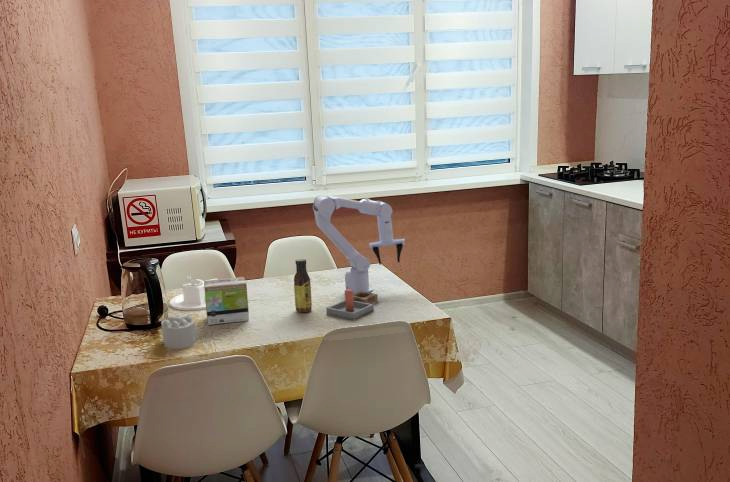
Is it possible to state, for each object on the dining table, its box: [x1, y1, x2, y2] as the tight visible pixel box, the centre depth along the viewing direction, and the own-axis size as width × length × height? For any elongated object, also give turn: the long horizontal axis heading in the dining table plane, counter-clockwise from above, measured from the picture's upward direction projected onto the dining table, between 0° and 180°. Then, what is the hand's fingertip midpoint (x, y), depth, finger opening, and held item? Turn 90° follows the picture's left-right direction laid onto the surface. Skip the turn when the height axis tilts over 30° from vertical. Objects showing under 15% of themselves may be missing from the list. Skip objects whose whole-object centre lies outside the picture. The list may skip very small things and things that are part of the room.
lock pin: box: [344, 289, 354, 312], centre depth 243 cm, size 3×3×8 cm
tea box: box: [203, 276, 250, 326], centre depth 242 cm, size 15×10×15 cm
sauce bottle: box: [293, 258, 313, 313], centre depth 247 cm, size 7×6×20 cm
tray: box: [325, 299, 375, 321], centre depth 244 cm, size 13×12×2 cm
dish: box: [169, 274, 218, 312], centre depth 267 cm, size 25×25×11 cm
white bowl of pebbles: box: [160, 314, 197, 350], centre depth 221 cm, size 10×13×9 cm
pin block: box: [353, 291, 379, 305], centre depth 255 cm, size 8×8×3 cm
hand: (389, 262), depth 272 cm, fingers open, 7 cm apart
